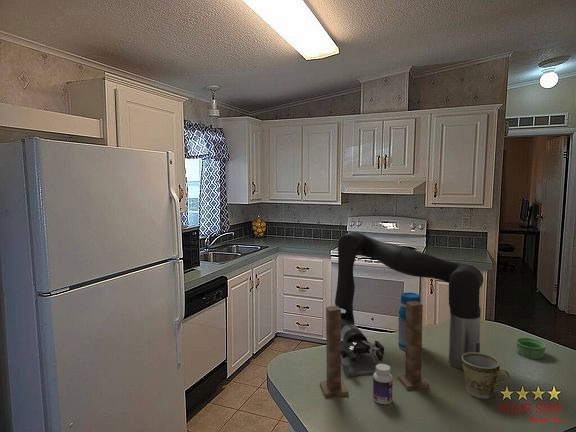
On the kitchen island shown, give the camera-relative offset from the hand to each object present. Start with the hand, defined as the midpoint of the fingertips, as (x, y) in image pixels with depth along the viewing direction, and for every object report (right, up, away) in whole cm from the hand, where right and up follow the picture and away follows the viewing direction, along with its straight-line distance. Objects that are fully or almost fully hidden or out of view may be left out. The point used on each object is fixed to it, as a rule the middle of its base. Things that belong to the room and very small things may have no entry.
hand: (368, 359), depth 122 cm
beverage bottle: (+20, -4, +22) cm, 30 cm away
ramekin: (+60, -4, +15) cm, 62 cm away
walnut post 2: (+13, -6, -3) cm, 15 cm away
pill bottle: (+2, -7, -12) cm, 14 cm away
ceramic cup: (+32, -7, -10) cm, 34 cm away
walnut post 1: (-12, -7, -6) cm, 15 cm away
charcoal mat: (-1, -5, +8) cm, 10 cm away
